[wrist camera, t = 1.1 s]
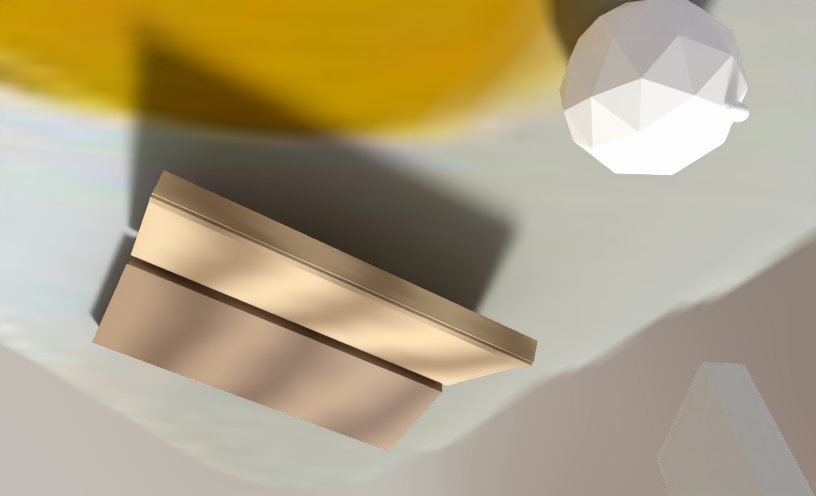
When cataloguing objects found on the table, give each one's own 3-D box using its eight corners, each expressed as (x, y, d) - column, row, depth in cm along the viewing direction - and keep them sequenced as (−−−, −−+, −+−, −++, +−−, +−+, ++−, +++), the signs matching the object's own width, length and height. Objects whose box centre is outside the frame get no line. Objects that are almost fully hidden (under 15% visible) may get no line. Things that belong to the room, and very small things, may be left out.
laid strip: (99, 328, 41) (92, 342, 40) (137, 241, 37) (130, 254, 36) (388, 436, 47) (388, 450, 46) (447, 371, 44) (448, 385, 43)
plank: (140, 235, 37) (129, 257, 37) (163, 169, 30) (150, 195, 29) (451, 367, 43) (446, 387, 43) (537, 340, 36) (532, 365, 35)
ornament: (586, -51, 28) (774, -32, 23) (650, 49, 34) (816, 84, 28) (496, 95, 29) (661, 150, 23) (575, 172, 34) (724, 232, 28)
